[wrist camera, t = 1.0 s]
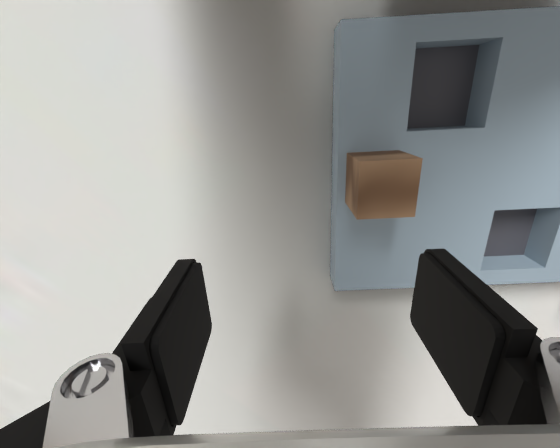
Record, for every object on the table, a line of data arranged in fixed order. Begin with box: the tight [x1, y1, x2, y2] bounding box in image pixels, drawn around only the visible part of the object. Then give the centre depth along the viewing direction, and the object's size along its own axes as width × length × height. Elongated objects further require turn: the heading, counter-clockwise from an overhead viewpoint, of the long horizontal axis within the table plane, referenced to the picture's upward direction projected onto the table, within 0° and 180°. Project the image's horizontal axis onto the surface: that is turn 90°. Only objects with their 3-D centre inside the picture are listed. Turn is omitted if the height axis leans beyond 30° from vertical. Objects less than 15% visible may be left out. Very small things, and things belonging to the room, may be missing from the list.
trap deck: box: [330, 6, 560, 291], centre depth 26 cm, size 24×28×6 cm
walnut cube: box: [345, 150, 423, 220], centre depth 24 cm, size 4×4×4 cm
